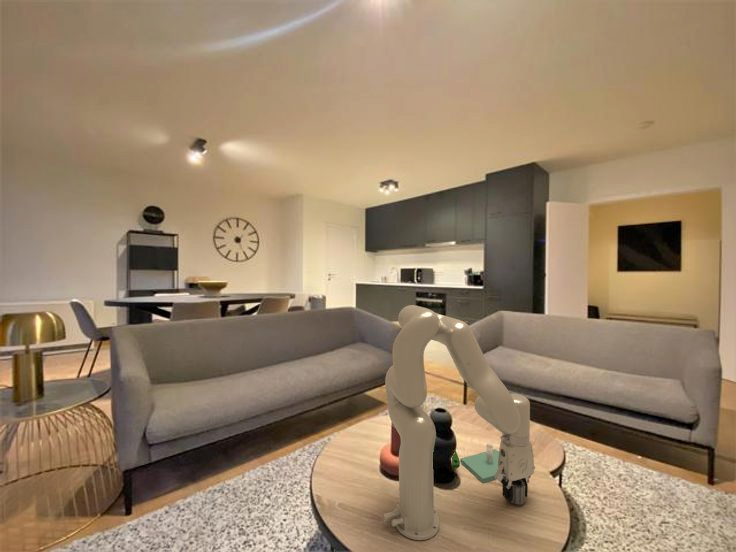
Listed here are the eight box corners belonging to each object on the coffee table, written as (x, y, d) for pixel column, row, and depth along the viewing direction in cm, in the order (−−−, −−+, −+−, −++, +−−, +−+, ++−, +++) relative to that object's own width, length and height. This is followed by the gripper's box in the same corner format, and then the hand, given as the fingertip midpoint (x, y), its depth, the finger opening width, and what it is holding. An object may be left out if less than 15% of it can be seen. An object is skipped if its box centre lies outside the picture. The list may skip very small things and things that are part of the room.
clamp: (432, 486, 109) (423, 467, 107) (429, 471, 115) (420, 453, 113) (465, 474, 108) (456, 455, 106) (460, 460, 114) (451, 441, 112)
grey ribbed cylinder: (514, 506, 92) (515, 489, 92) (501, 494, 97) (501, 478, 97) (528, 501, 94) (528, 485, 94) (514, 490, 99) (515, 474, 99)
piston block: (483, 483, 104) (482, 457, 104) (460, 462, 115) (460, 439, 115) (520, 471, 109) (520, 447, 109) (495, 452, 121) (495, 430, 120)
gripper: (502, 449, 89) (501, 512, 89) (547, 437, 95) (546, 497, 95) (484, 435, 96) (483, 494, 96) (527, 426, 102) (526, 482, 102)
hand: (514, 495), depth 96 cm, fingers closed on grey ribbed cylinder, 5 cm apart
